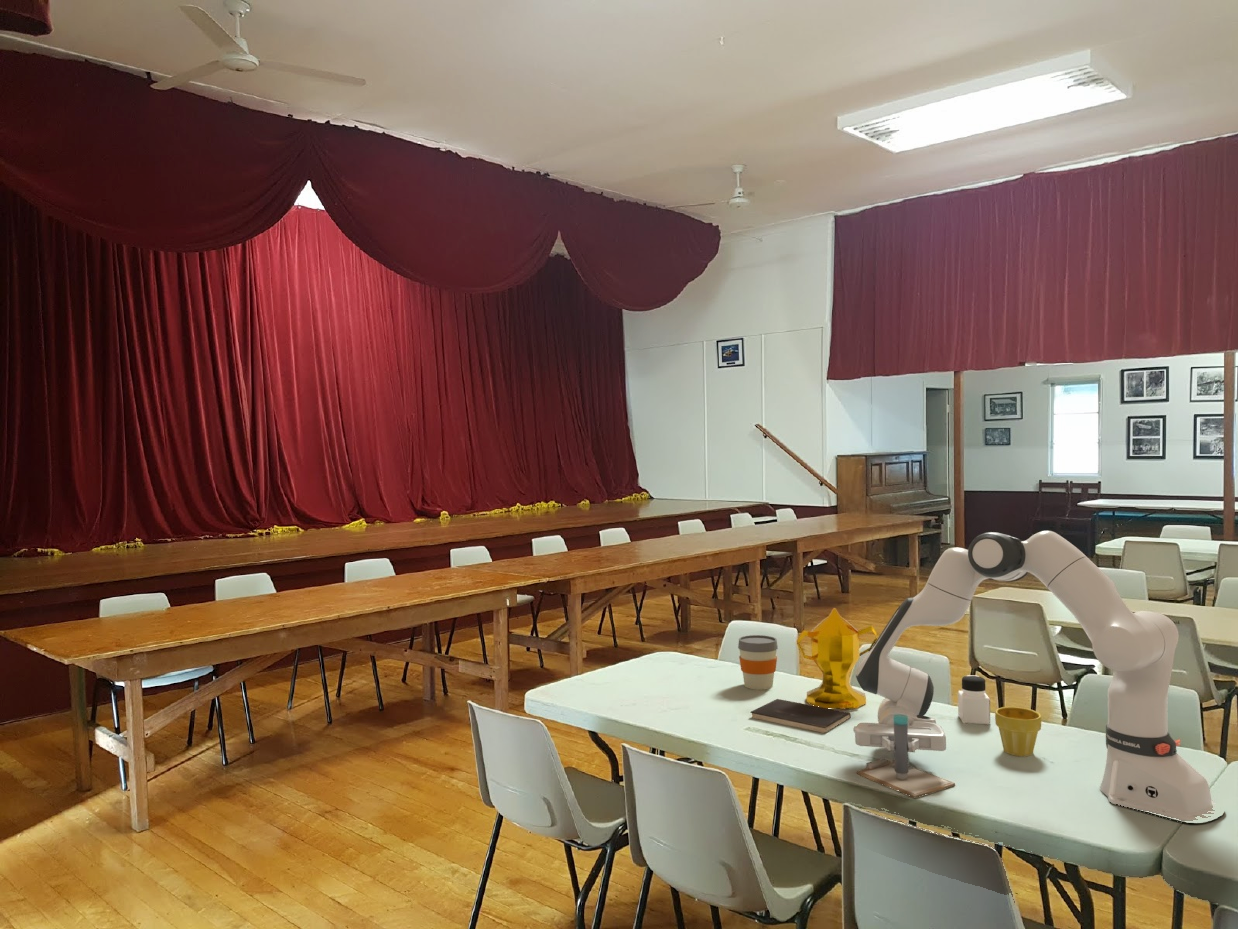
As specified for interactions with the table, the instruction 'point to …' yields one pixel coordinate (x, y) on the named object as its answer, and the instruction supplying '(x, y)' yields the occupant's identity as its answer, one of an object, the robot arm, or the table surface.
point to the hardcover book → (800, 715)
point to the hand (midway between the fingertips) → (901, 748)
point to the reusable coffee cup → (758, 660)
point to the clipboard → (912, 786)
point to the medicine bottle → (973, 701)
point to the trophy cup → (835, 661)
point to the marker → (901, 746)
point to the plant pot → (1018, 729)
